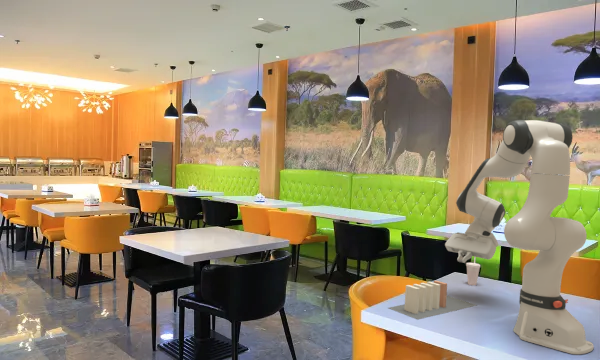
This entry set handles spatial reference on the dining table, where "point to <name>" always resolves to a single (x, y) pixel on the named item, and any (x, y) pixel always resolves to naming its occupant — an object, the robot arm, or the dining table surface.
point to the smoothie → (472, 272)
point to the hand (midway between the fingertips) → (460, 261)
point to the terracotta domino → (442, 293)
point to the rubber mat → (451, 305)
